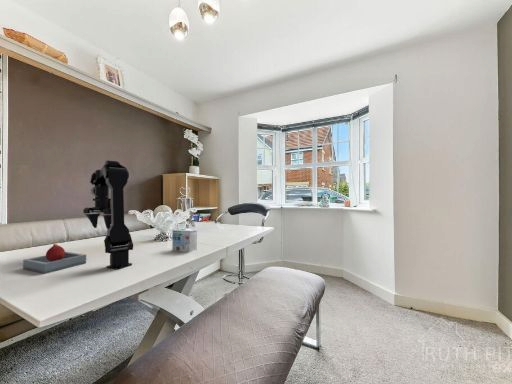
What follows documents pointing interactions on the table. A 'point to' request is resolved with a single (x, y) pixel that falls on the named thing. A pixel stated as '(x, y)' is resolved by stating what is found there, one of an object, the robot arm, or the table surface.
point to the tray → (53, 263)
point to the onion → (55, 253)
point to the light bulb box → (184, 240)
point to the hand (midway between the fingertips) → (101, 228)
